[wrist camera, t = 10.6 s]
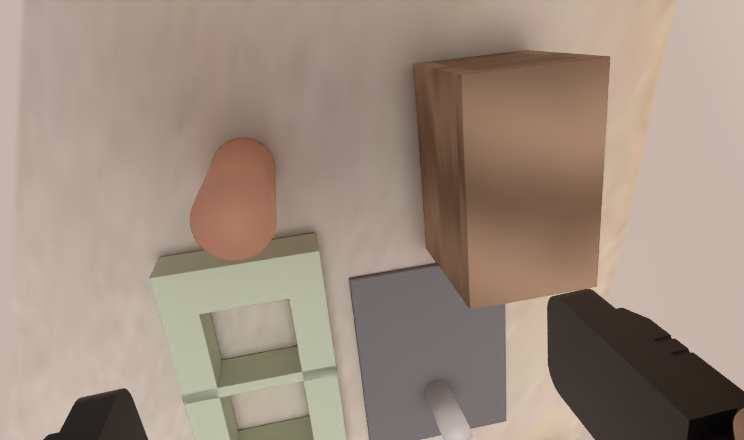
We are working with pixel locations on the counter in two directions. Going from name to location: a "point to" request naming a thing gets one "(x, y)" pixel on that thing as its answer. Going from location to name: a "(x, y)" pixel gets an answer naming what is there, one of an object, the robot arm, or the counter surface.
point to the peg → (236, 202)
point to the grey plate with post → (427, 356)
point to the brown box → (513, 171)
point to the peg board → (257, 371)
